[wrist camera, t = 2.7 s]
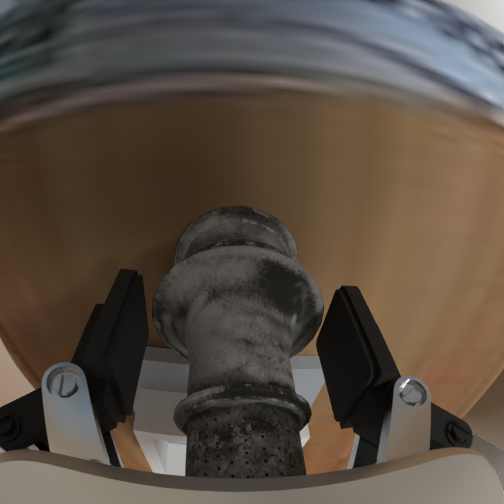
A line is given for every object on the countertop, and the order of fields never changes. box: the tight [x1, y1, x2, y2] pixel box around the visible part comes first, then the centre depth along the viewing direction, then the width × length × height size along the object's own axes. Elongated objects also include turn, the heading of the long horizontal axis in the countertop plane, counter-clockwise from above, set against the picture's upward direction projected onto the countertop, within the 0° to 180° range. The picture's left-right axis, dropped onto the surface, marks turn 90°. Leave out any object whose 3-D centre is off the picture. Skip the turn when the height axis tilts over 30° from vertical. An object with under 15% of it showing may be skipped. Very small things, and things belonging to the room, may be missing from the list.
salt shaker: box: [152, 206, 324, 479], centre depth 8 cm, size 6×6×12 cm
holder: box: [133, 346, 325, 476], centre depth 19 cm, size 16×12×4 cm
